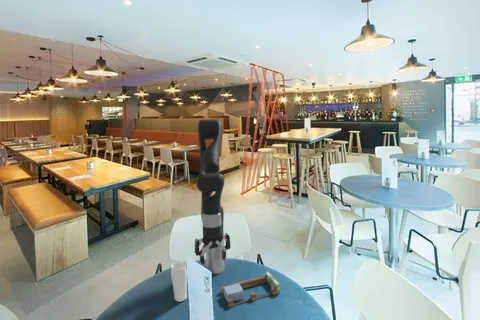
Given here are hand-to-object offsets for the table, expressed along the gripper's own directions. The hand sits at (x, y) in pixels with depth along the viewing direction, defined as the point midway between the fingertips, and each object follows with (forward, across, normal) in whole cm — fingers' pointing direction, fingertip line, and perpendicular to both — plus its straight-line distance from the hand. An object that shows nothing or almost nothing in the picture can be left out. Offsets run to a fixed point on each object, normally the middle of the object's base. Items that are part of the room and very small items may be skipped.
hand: (213, 261), depth 107 cm
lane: (+18, -16, 0) cm, 24 cm away
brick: (+18, -8, 0) cm, 20 cm away
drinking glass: (+18, +12, -8) cm, 24 cm away
